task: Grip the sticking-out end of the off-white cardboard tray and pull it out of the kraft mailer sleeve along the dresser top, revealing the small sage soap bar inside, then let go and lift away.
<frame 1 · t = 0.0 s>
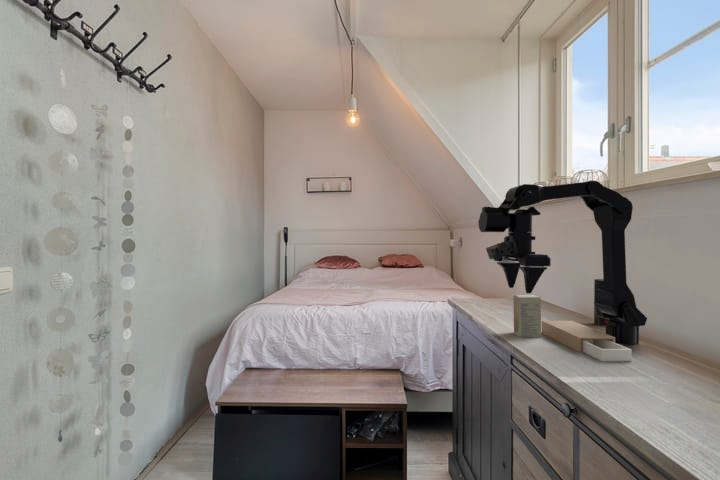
hand: (519, 290, 88), 15 cm above the dresser, tool pointing down, fingers open, 9 cm apart
skincare box: (526, 338, 94), on the dresser
sleeve: (575, 344, 88), on the dresser
soap bar: (580, 343, 86), point 1 cm above the dresser, touching tray
tray: (591, 344, 82), point 2 cm above the dresser, slide at 0.0 cm, touching soap bar
deodorant: (605, 326, 107), on the dresser
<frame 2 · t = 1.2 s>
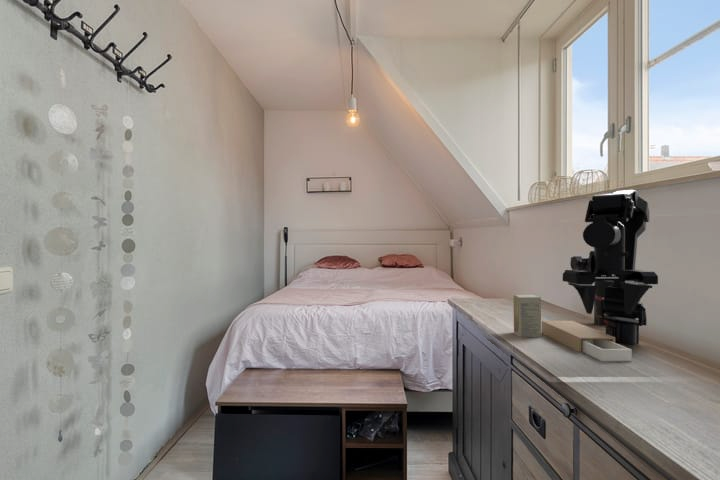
hand: (608, 313, 77), 11 cm above the dresser, tool pointing down, fingers open, 9 cm apart
nothing on the dresser moved.
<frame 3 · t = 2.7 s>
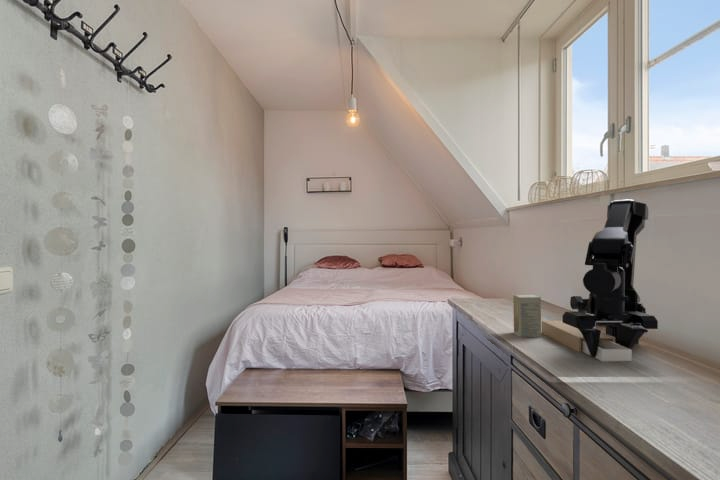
hand: (608, 356, 77), 1 cm above the dresser, tool pointing down, fingers closed on tray, 7 cm apart
tray: (591, 344, 82), point 2 cm above the dresser, slide at 0.0 cm, touching gripper, soap bar
everything else where it was.
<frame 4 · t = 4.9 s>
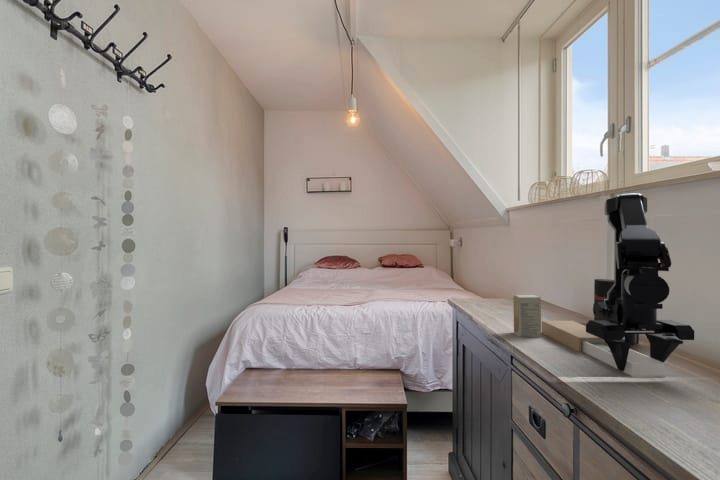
hand: (637, 370, 69), 1 cm above the dresser, tool pointing down, fingers closed on tray, 7 cm apart
soap bar: (603, 354, 78), point 1 cm above the dresser, touching tray
tray: (616, 356, 74), point 2 cm above the dresser, slide at 7.9 cm, touching gripper, soap bar
everything else where it was.
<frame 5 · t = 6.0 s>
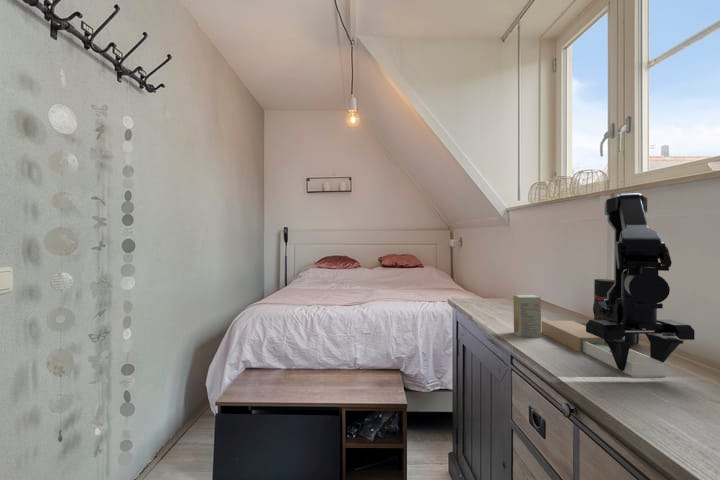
hand: (637, 369, 69), 1 cm above the dresser, tool pointing down, fingers open, 7 cm apart
tray: (616, 356, 74), point 2 cm above the dresser, slide at 7.9 cm, touching soap bar
everything else where it was.
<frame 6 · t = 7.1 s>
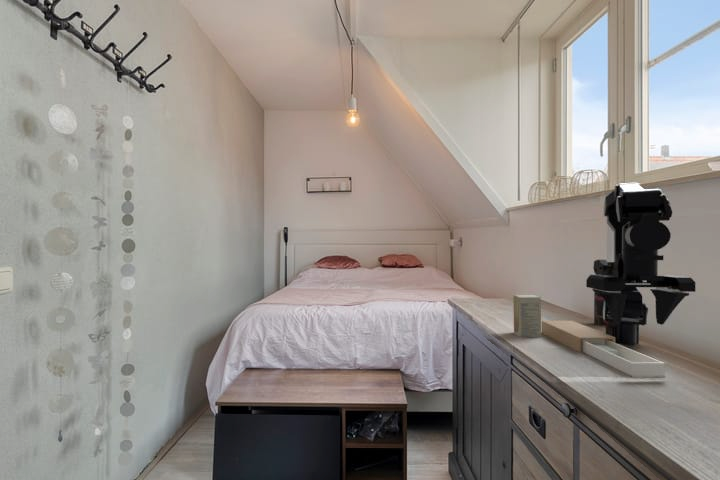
hand: (638, 324, 68), 11 cm above the dresser, tool pointing down, fingers open, 9 cm apart
nothing on the dresser moved.
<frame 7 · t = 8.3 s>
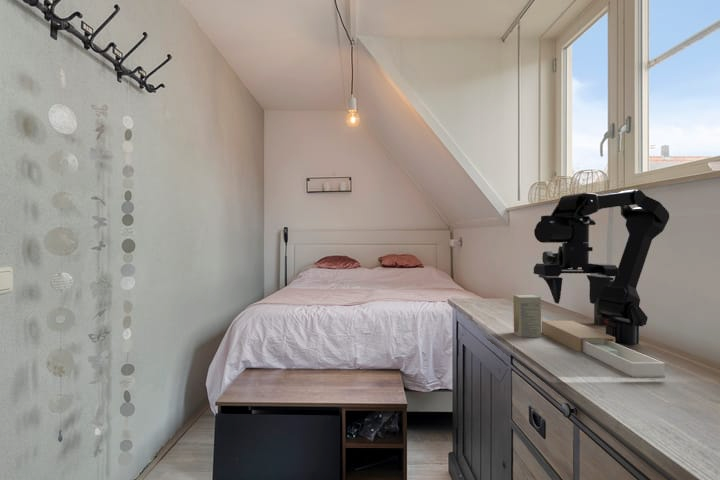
hand: (574, 303, 84), 12 cm above the dresser, tool pointing down, fingers open, 9 cm apart
nothing on the dresser moved.
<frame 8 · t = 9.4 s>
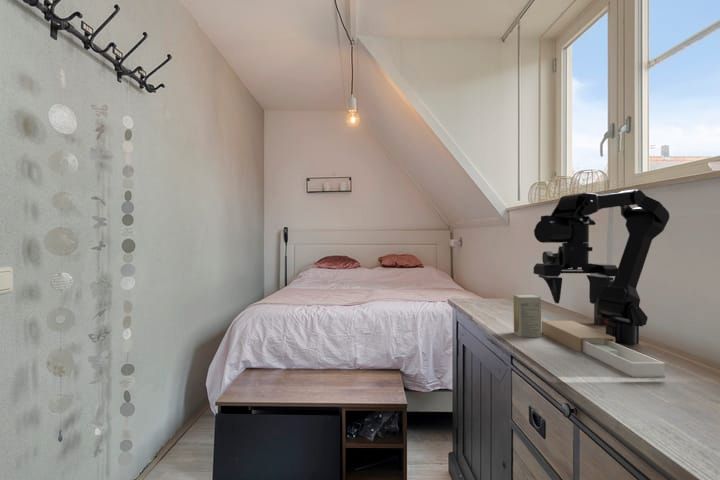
hand: (574, 303, 84), 12 cm above the dresser, tool pointing down, fingers open, 9 cm apart
nothing on the dresser moved.
at the end: tray slide at 7.9 cm; the gripper is holding nothing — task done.
